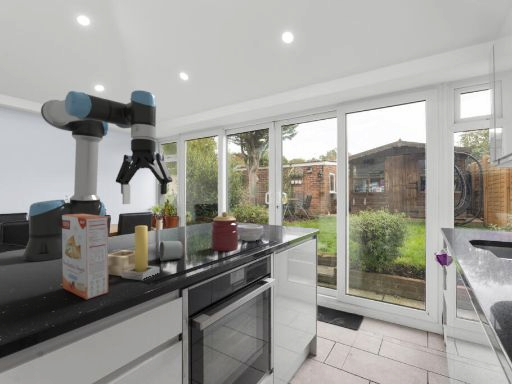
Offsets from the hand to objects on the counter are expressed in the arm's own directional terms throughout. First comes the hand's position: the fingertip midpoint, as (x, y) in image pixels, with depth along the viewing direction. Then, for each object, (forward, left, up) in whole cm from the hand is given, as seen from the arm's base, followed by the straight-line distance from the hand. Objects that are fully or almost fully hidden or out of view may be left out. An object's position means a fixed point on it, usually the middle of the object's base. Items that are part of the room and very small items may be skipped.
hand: (143, 204), depth 89 cm
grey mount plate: (0, -1, -23) cm, 23 cm away
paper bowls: (+13, +71, -23) cm, 76 cm away
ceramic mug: (-4, +20, -23) cm, 31 cm away
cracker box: (-5, -17, -23) cm, 29 cm away
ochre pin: (0, -1, -23) cm, 23 cm away
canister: (+9, +45, -23) cm, 51 cm away
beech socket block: (-9, +1, -23) cm, 25 cm away
